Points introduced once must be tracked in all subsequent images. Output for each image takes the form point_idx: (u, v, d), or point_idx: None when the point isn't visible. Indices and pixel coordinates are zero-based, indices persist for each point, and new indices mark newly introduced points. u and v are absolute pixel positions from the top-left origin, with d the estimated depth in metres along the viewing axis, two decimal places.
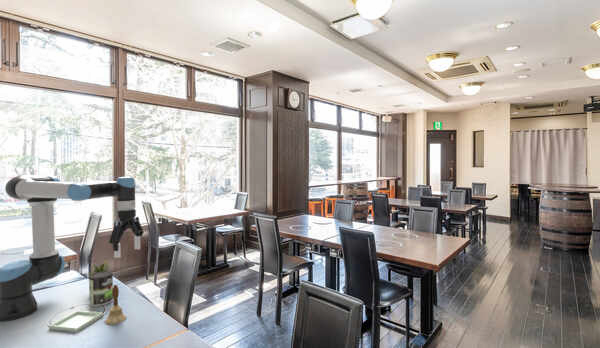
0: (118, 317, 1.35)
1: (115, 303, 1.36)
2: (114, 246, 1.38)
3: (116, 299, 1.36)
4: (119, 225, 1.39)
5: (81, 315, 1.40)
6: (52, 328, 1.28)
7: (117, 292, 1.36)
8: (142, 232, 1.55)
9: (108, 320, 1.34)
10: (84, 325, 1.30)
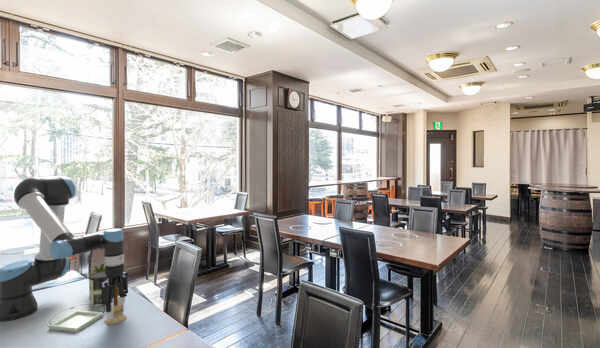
0: (118, 317, 1.35)
1: (115, 303, 1.36)
2: (106, 307, 1.32)
3: (116, 299, 1.36)
4: (106, 286, 1.30)
5: (81, 315, 1.40)
6: (52, 328, 1.28)
7: (117, 292, 1.36)
8: (126, 292, 1.42)
9: (108, 320, 1.34)
10: (84, 325, 1.30)
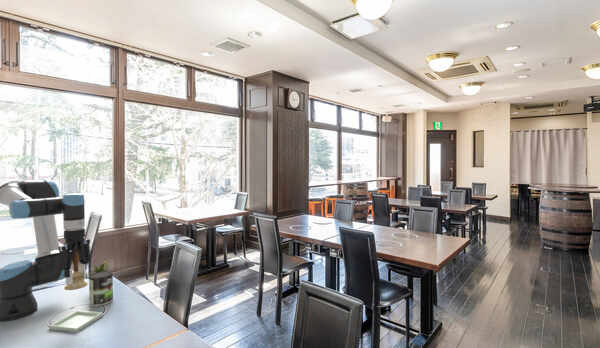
0: (78, 283, 1.32)
1: (75, 269, 1.33)
2: (65, 272, 1.29)
3: (76, 265, 1.33)
4: (64, 250, 1.27)
5: (81, 315, 1.40)
6: (52, 328, 1.28)
7: (77, 258, 1.33)
8: (88, 259, 1.39)
9: (67, 286, 1.31)
10: (84, 325, 1.30)
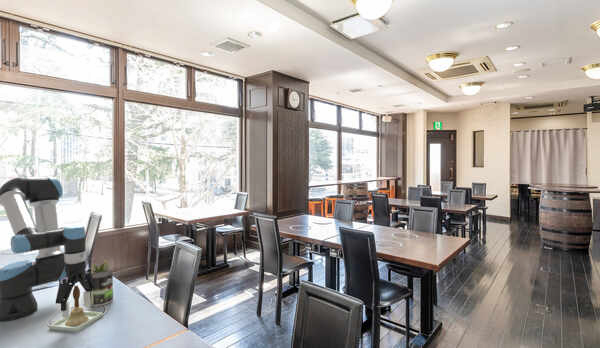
0: (78, 319, 1.32)
1: (76, 304, 1.33)
2: (61, 306, 1.27)
3: (77, 300, 1.33)
4: (65, 283, 1.27)
5: None
6: (52, 328, 1.28)
7: (78, 293, 1.33)
8: (93, 286, 1.41)
9: (68, 322, 1.31)
10: (84, 325, 1.30)
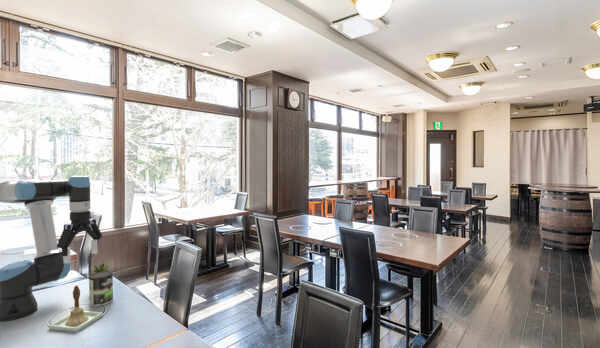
0: (78, 319, 1.32)
1: (76, 304, 1.33)
2: (63, 251, 1.27)
3: (77, 300, 1.33)
4: (69, 228, 1.28)
5: None
6: (52, 328, 1.28)
7: (78, 293, 1.33)
8: (100, 235, 1.44)
9: (68, 322, 1.31)
10: (84, 325, 1.30)
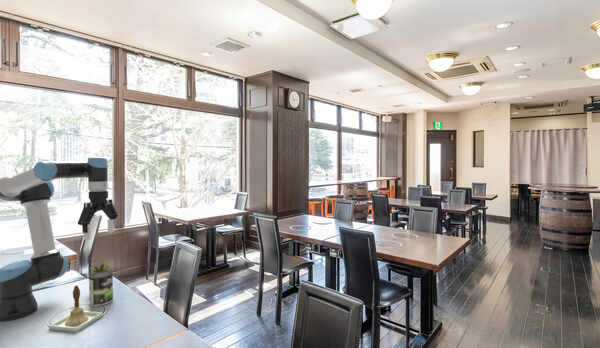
0: (78, 319, 1.32)
1: (76, 304, 1.33)
2: (83, 228, 1.33)
3: (77, 300, 1.33)
4: (89, 206, 1.34)
5: None
6: (52, 328, 1.28)
7: (78, 293, 1.33)
8: (116, 215, 1.50)
9: (68, 322, 1.31)
10: (84, 325, 1.30)
